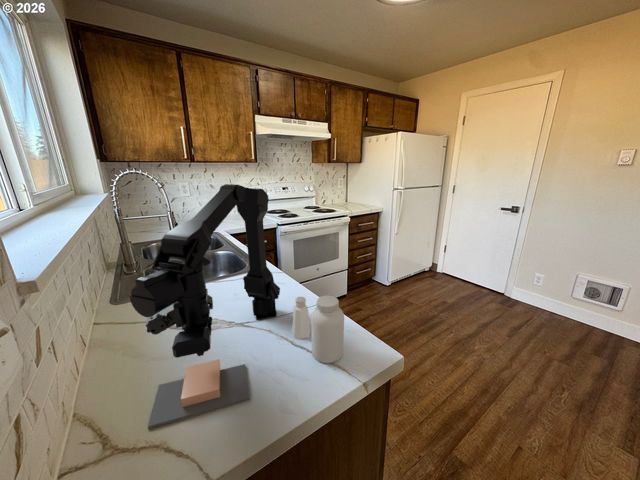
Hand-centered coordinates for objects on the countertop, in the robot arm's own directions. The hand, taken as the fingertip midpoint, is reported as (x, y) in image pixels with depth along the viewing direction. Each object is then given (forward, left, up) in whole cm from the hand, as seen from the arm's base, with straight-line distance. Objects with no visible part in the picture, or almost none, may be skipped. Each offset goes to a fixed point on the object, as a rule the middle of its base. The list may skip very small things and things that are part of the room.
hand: (200, 354), depth 59 cm
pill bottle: (-29, +3, -6) cm, 30 cm away
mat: (0, +5, -6) cm, 8 cm away
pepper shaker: (-25, -7, -6) cm, 27 cm away
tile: (0, -1, -4) cm, 4 cm away
